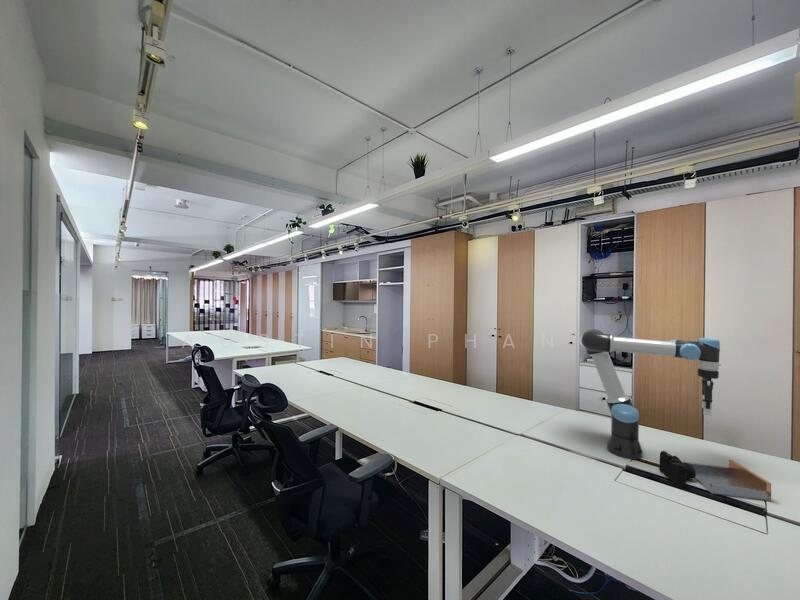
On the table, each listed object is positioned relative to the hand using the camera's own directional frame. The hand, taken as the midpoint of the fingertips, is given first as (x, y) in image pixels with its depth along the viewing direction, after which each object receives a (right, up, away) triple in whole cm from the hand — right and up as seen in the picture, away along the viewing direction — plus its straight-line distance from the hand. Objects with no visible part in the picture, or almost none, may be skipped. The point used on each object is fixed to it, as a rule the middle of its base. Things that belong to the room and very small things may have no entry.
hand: (706, 411), depth 159 cm
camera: (-29, -24, -18) cm, 42 cm away
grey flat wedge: (-14, -24, -21) cm, 35 cm away
